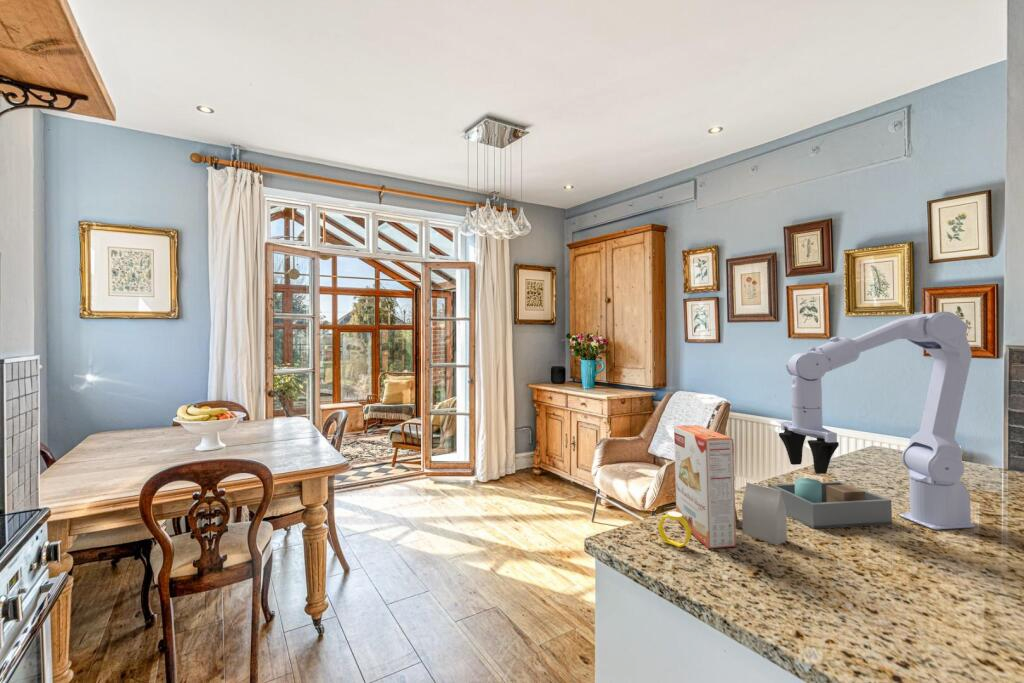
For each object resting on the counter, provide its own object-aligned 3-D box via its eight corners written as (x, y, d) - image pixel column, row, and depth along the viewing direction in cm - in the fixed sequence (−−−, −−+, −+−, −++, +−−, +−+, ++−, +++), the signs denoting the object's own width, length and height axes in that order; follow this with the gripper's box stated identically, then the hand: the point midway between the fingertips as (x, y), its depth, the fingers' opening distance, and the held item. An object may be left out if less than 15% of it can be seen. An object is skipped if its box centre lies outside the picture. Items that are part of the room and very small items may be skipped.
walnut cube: (847, 506, 107) (846, 484, 107) (865, 514, 102) (865, 491, 102) (826, 507, 107) (826, 485, 107) (844, 515, 102) (843, 492, 102)
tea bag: (776, 545, 89) (775, 492, 89) (742, 533, 95) (741, 484, 95) (786, 540, 91) (785, 489, 91) (752, 529, 97) (751, 480, 97)
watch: (656, 542, 91) (655, 511, 91) (662, 538, 93) (662, 508, 93) (686, 551, 87) (686, 519, 87) (692, 546, 89) (692, 515, 89)
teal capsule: (810, 508, 106) (810, 477, 106) (827, 516, 101) (827, 484, 101) (790, 509, 106) (789, 478, 106) (806, 517, 101) (805, 485, 101)
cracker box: (674, 521, 101) (672, 425, 102) (701, 520, 102) (699, 424, 102) (706, 549, 88) (704, 438, 88) (737, 548, 88) (735, 436, 88)
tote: (840, 502, 111) (839, 481, 111) (891, 524, 98) (891, 500, 98) (770, 506, 110) (770, 484, 110) (813, 528, 96) (812, 504, 96)
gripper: (768, 403, 110) (769, 461, 110) (814, 412, 96) (815, 478, 96) (796, 402, 111) (797, 459, 111) (845, 411, 97) (847, 477, 97)
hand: (807, 468), depth 103 cm, fingers open, 7 cm apart
